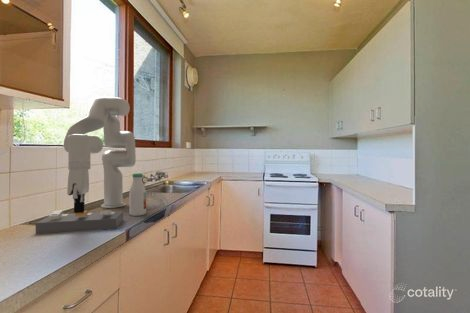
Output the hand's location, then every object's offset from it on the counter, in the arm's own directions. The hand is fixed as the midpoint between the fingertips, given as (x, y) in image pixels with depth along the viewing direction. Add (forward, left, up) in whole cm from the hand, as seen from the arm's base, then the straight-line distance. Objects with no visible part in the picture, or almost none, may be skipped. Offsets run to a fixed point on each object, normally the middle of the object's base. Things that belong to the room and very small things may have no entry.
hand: (79, 212), depth 103 cm
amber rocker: (-3, 0, -2) cm, 3 cm away
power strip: (-5, 0, -7) cm, 8 cm away
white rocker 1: (-3, -9, -2) cm, 10 cm away
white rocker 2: (-3, +9, -2) cm, 10 cm away
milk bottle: (-22, +19, -7) cm, 30 cm away
